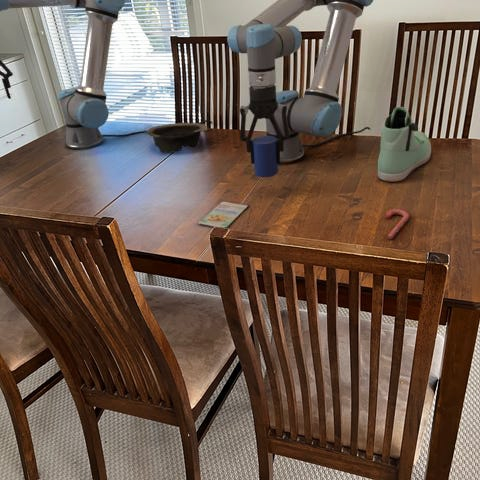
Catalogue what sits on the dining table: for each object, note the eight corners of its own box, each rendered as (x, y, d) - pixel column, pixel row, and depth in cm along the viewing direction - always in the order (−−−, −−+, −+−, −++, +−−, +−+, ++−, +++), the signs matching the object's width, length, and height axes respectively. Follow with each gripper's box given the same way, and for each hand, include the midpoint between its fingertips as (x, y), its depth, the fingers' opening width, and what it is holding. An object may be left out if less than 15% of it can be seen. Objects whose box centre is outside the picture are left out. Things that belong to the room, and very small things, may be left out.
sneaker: (435, 147, 173) (444, 90, 162) (416, 186, 148) (424, 121, 137) (397, 143, 179) (403, 88, 168) (371, 180, 154) (377, 117, 143)
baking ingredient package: (197, 222, 136) (222, 200, 148) (198, 223, 137) (222, 201, 148) (225, 227, 133) (248, 204, 144) (225, 229, 133) (248, 206, 145)
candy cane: (369, 235, 126) (370, 230, 125) (390, 211, 136) (390, 206, 135) (392, 241, 122) (392, 236, 122) (411, 215, 133) (412, 211, 132)
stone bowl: (160, 161, 179) (155, 137, 175) (141, 147, 200) (136, 125, 195) (220, 146, 188) (216, 122, 184) (195, 134, 208) (192, 112, 204)
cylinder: (282, 173, 147) (281, 140, 141) (262, 179, 144) (260, 145, 138) (270, 166, 152) (268, 133, 147) (250, 171, 149) (248, 139, 144)
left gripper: (-77, 43, 146) (-51, 112, 157) (8, 31, 157) (28, 96, 168) (-79, 40, 151) (-53, 107, 163) (4, 29, 162) (23, 92, 173)
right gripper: (225, 90, 132) (231, 167, 144) (298, 86, 130) (299, 165, 142) (228, 83, 139) (234, 158, 151) (298, 80, 136) (298, 156, 148)
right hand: (265, 161), depth 146 cm, fingers closed on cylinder, 7 cm apart
